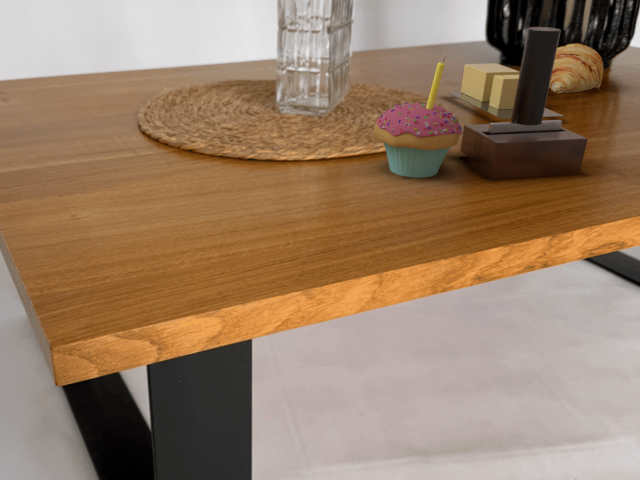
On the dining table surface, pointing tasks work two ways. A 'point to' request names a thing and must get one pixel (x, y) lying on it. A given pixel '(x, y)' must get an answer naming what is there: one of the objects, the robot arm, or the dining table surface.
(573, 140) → the knife block
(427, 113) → the cupcake
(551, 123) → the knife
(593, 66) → the croissant
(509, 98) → the butter pat
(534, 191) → the dining table surface
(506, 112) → the butter board
